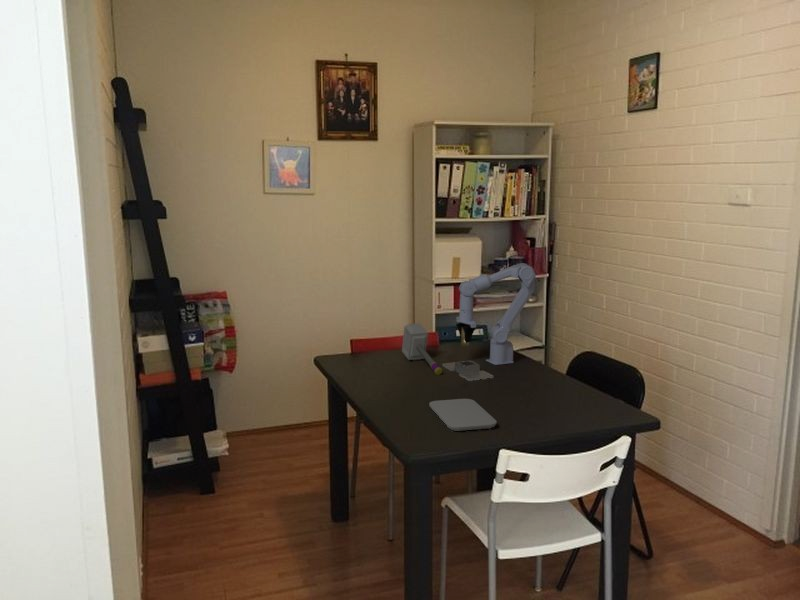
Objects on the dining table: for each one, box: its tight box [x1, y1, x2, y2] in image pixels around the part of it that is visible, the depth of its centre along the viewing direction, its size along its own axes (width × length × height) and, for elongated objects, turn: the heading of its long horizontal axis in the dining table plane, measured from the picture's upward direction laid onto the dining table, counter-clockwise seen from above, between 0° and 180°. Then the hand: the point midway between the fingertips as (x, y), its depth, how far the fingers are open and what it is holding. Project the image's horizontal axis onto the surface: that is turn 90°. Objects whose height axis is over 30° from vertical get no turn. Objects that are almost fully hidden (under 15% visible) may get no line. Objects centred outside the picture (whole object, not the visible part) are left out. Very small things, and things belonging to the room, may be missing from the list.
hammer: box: [401, 322, 443, 376], centre depth 287 cm, size 15×8×30 cm
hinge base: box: [441, 360, 494, 382], centre depth 279 cm, size 11×23×4 cm, turn 23°
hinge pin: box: [460, 328, 471, 348], centre depth 292 cm, size 4×4×8 cm
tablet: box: [428, 398, 497, 431], centre depth 226 cm, size 16×26×2 cm, turn 14°
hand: (465, 341), depth 292 cm, fingers closed on hinge pin, 4 cm apart
